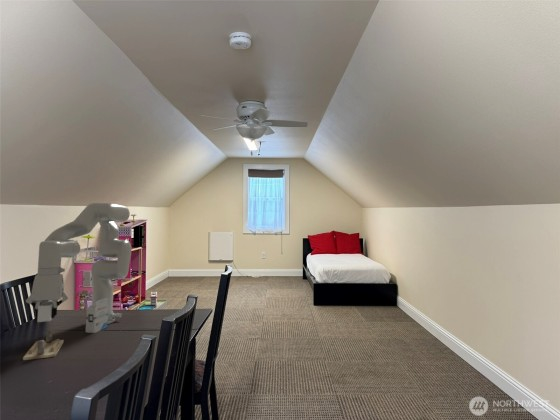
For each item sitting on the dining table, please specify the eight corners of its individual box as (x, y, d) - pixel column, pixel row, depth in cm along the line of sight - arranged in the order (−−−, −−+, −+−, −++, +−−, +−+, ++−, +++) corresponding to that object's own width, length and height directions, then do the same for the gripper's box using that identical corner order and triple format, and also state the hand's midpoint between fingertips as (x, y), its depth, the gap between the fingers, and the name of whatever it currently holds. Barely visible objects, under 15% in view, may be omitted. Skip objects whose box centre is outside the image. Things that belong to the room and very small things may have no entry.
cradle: (63, 342, 139) (64, 327, 139) (55, 356, 124) (56, 340, 125) (35, 345, 135) (36, 330, 135) (22, 360, 120) (23, 343, 121)
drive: (54, 315, 134) (55, 300, 135) (49, 321, 127) (50, 304, 127) (42, 316, 133) (43, 301, 133) (37, 322, 126) (38, 305, 126)
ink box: (98, 326, 160) (100, 296, 161) (107, 327, 159) (108, 297, 160) (84, 332, 152) (86, 300, 152) (94, 333, 151) (95, 301, 151)
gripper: (75, 269, 138) (72, 313, 137) (26, 271, 131) (23, 317, 130) (71, 272, 131) (69, 318, 130) (20, 273, 124) (17, 322, 123)
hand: (46, 317), depth 130 cm, fingers closed on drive, 4 cm apart
